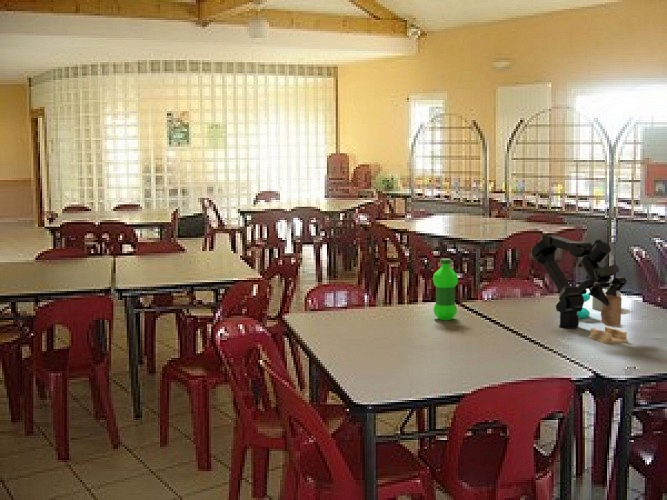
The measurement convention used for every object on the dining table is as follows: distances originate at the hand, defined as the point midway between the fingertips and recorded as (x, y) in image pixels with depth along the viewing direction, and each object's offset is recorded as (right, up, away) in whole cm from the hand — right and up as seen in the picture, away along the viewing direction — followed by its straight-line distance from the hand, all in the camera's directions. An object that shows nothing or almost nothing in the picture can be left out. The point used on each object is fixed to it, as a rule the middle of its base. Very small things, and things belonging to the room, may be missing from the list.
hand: (612, 304), depth 288 cm
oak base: (-1, -13, +3) cm, 13 cm away
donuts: (0, -8, +43) cm, 44 cm away
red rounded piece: (+9, -10, +30) cm, 33 cm away
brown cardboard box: (0, -7, +1) cm, 7 cm away
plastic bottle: (-55, -9, +41) cm, 69 cm away
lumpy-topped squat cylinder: (+19, -6, +59) cm, 62 cm away
